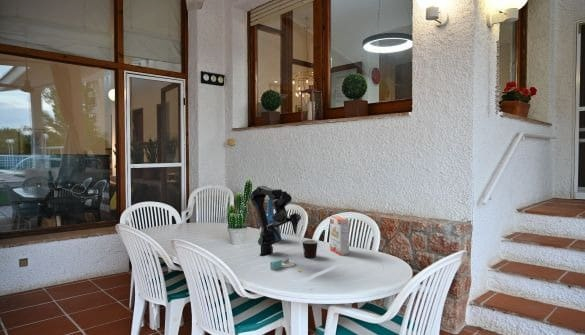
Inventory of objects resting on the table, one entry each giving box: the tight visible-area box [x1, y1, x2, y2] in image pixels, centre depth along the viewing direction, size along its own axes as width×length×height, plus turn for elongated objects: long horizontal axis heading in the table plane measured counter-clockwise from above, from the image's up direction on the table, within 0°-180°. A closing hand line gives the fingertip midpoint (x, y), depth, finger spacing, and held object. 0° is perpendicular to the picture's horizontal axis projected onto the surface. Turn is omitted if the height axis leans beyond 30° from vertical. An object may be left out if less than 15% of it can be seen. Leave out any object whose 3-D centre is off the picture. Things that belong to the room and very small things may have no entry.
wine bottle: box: [266, 198, 281, 242], centre depth 260 cm, size 14×13×30 cm
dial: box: [269, 258, 296, 271], centre depth 196 cm, size 16×10×4 cm, turn 142°
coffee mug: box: [302, 239, 319, 259], centre depth 215 cm, size 12×9×10 cm
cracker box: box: [329, 215, 350, 256], centre depth 228 cm, size 14×6×21 cm, turn 21°
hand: (288, 237), depth 201 cm, fingers open, 9 cm apart
